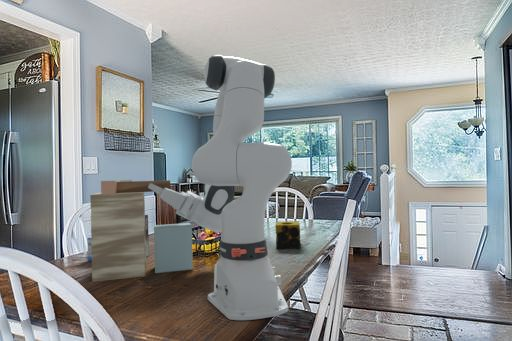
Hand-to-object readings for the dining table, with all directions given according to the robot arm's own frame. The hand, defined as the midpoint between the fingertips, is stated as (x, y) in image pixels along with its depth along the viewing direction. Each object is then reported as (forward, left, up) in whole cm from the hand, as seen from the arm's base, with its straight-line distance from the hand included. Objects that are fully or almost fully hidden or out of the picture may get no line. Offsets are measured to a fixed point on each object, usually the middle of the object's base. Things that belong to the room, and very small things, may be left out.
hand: (149, 184), depth 114 cm
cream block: (+5, +8, -2) cm, 9 cm away
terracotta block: (-4, +12, -2) cm, 13 cm away
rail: (0, +3, -2) cm, 4 cm away
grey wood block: (0, +9, -28) cm, 30 cm away
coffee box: (+20, +6, -28) cm, 35 cm away
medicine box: (+22, +19, -28) cm, 40 cm away
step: (0, -7, -28) cm, 29 cm away
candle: (+17, -55, -29) cm, 64 cm away
